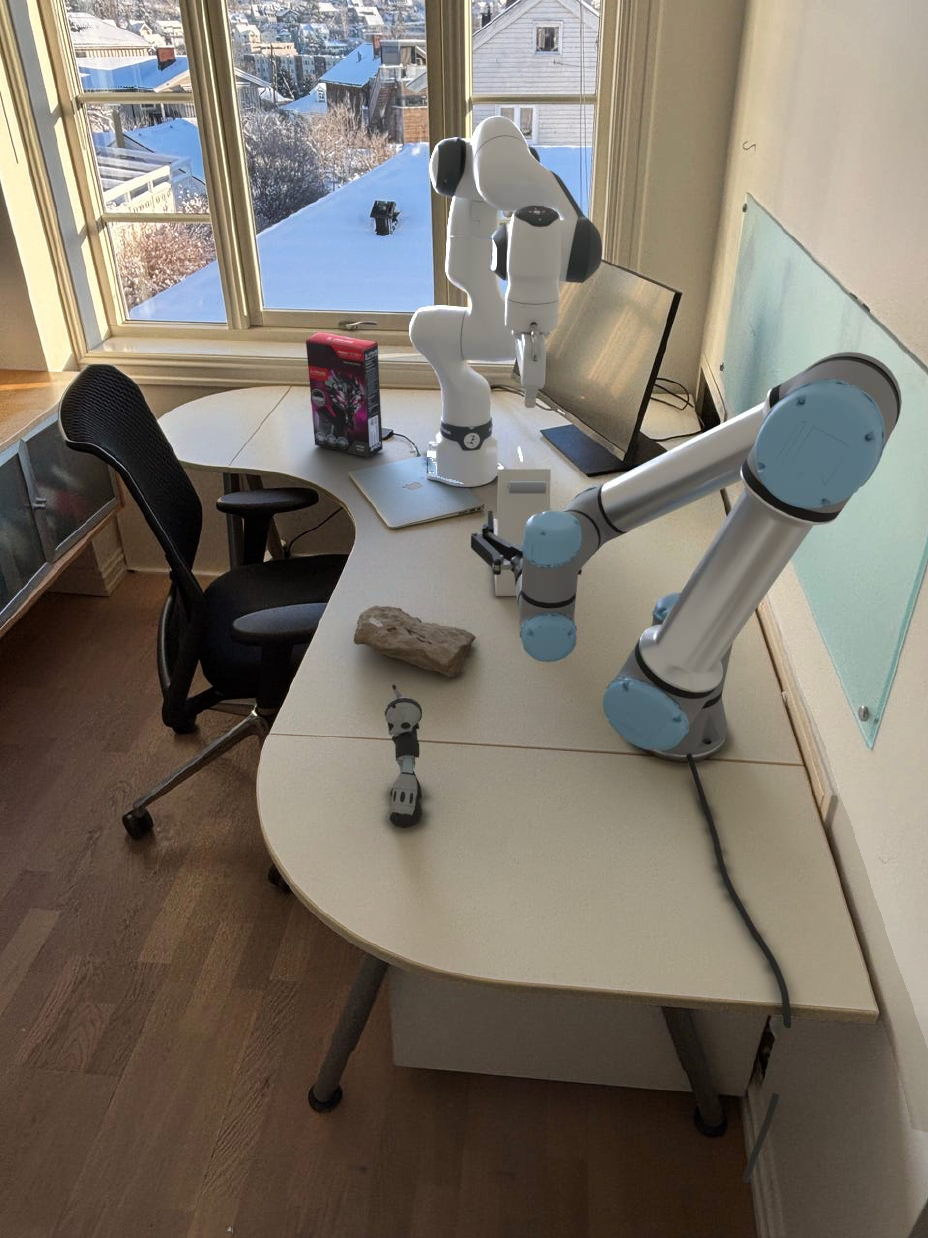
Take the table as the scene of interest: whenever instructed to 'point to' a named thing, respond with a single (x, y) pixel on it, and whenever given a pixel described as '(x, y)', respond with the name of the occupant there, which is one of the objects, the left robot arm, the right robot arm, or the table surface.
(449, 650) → the stone
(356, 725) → the table surface
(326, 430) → the graphics card box
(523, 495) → the lid
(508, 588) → the chest
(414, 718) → the robot
